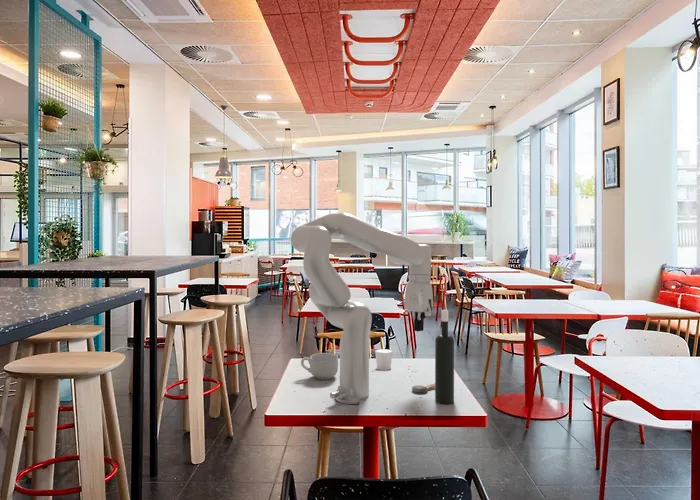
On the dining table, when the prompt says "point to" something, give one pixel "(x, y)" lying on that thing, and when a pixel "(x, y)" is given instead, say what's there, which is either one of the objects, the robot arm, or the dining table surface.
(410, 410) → the dining table surface
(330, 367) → the teacup
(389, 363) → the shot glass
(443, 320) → the wine bottle
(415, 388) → the multicoloured piece
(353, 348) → the robot arm
